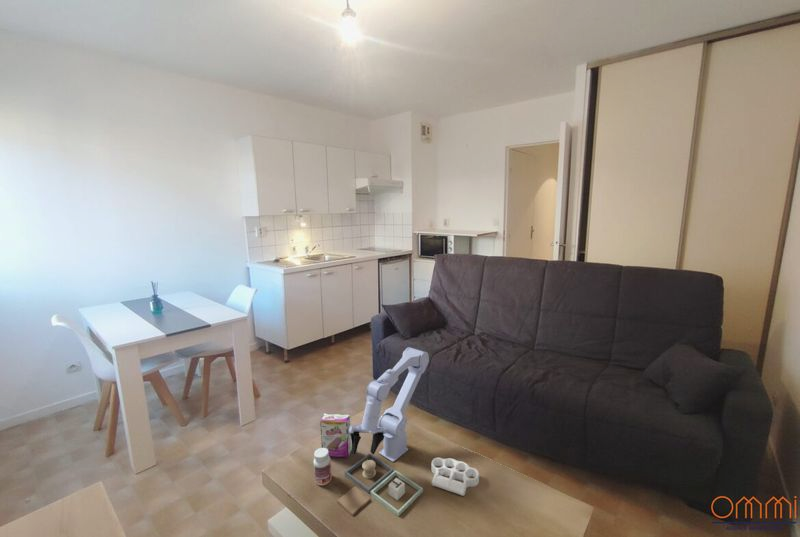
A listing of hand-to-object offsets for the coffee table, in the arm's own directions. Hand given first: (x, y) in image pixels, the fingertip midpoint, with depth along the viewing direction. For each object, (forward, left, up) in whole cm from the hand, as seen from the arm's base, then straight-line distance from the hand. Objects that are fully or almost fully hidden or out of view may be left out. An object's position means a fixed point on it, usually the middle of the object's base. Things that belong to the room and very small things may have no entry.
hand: (363, 453), depth 128 cm
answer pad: (+9, +5, -10) cm, 15 cm away
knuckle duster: (-22, +25, -11) cm, 35 cm away
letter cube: (-3, +14, -10) cm, 18 cm away
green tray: (-3, +14, -10) cm, 18 cm away
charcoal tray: (-3, 0, -10) cm, 11 cm away
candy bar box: (-2, -18, -11) cm, 21 cm away
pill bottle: (+10, -11, -11) cm, 18 cm away
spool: (-3, 0, -10) cm, 11 cm away
